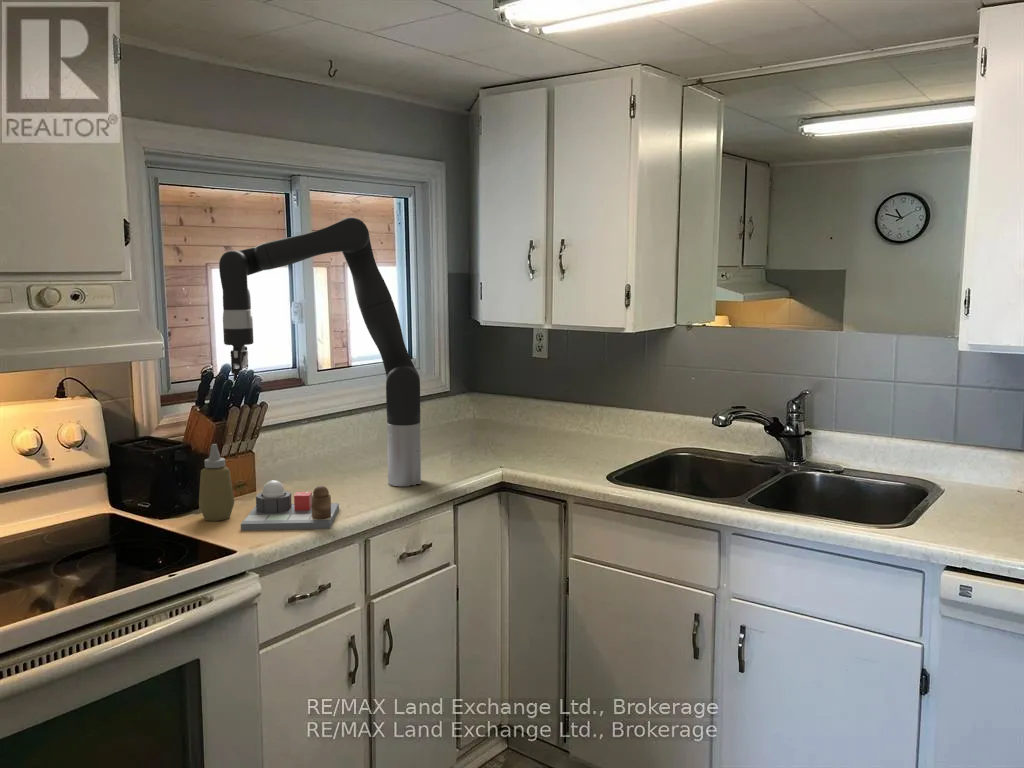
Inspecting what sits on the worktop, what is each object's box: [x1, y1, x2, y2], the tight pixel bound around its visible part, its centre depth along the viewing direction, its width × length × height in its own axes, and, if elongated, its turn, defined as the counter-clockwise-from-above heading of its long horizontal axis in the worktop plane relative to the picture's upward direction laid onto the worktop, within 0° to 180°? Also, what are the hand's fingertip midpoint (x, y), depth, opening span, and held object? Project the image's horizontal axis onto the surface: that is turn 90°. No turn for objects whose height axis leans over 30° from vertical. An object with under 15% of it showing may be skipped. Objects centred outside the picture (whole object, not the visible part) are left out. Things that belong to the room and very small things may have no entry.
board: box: [240, 490, 340, 531], centre depth 193 cm, size 20×16×5 cm
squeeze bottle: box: [198, 443, 235, 522], centre depth 193 cm, size 8×8×18 cm
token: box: [311, 485, 332, 519], centre depth 190 cm, size 4×4×7 cm
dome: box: [262, 479, 285, 498], centre depth 197 cm, size 5×5×5 cm
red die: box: [293, 491, 313, 510], centre depth 197 cm, size 4×4×4 cm
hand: (240, 386), depth 218 cm, fingers open, 8 cm apart
